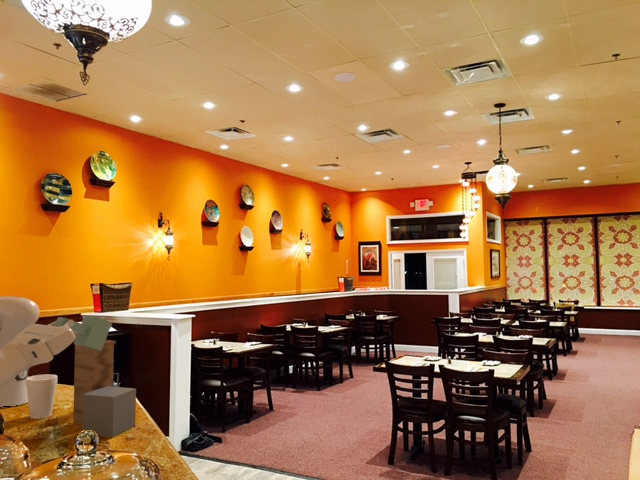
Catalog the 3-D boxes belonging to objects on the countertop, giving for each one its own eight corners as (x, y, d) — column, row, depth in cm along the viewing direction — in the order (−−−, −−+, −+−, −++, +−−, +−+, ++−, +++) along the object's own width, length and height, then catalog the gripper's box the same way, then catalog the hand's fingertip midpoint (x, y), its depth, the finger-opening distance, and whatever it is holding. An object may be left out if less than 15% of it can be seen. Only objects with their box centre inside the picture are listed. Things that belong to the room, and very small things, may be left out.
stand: (91, 427, 167) (93, 344, 168) (72, 422, 172) (74, 342, 173) (114, 420, 175) (116, 341, 176) (95, 415, 180) (97, 338, 181)
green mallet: (59, 337, 151) (70, 307, 154) (47, 336, 154) (59, 306, 158) (105, 352, 164) (115, 324, 167) (94, 350, 167) (104, 322, 170)
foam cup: (49, 410, 186) (50, 373, 186) (61, 415, 180) (62, 377, 180) (20, 416, 179) (21, 377, 179) (31, 421, 172) (32, 381, 173)
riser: (81, 434, 161) (82, 394, 161) (106, 423, 171) (106, 386, 172) (112, 437, 158) (113, 397, 158) (135, 426, 168) (136, 388, 169)
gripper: (12, 355, 153) (52, 327, 163) (52, 363, 142) (93, 332, 152) (1, 337, 151) (43, 310, 161) (41, 344, 140) (83, 314, 150)
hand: (67, 321), depth 157 cm, fingers closed on green mallet, 3 cm apart
